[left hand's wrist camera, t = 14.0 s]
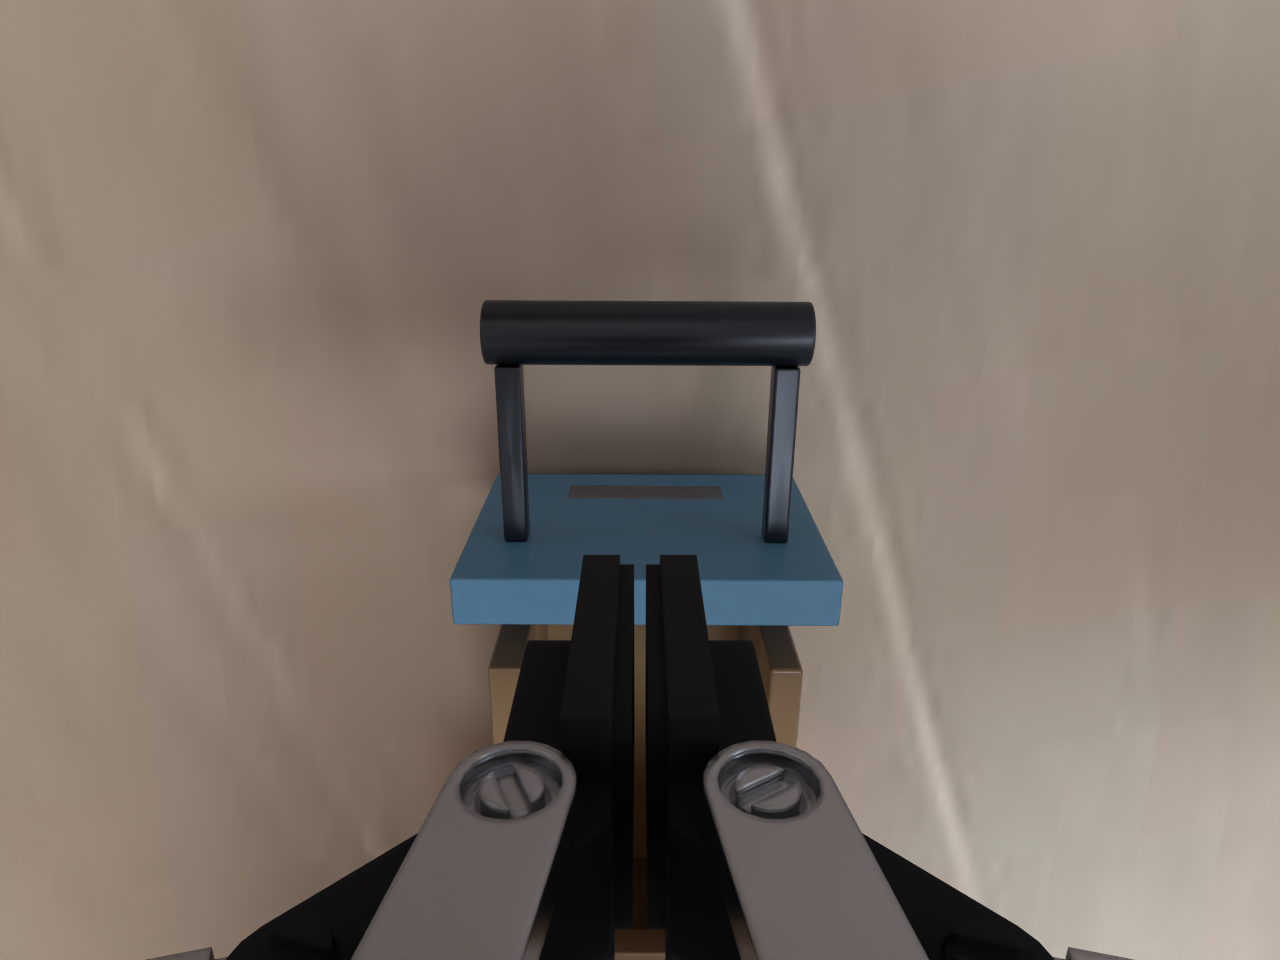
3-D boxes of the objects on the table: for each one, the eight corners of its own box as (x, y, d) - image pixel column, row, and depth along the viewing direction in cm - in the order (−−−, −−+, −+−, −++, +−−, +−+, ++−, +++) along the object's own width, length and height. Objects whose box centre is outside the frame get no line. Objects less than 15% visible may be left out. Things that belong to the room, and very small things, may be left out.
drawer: (485, 274, 24) (427, 317, 17) (806, 276, 24) (870, 319, 17) (519, 852, 31) (487, 1037, 25) (765, 853, 31) (798, 1038, 25)
